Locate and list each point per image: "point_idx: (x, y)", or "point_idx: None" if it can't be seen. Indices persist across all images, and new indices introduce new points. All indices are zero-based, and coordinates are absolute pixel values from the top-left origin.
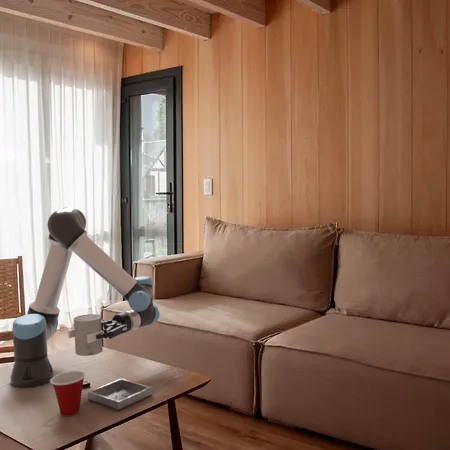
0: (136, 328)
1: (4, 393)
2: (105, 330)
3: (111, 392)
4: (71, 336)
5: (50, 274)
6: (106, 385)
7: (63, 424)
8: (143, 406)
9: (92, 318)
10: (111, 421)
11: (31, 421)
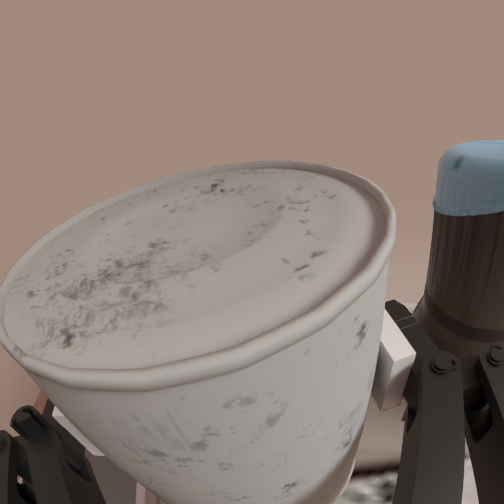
0: None
1: (386, 301)
2: (23, 416)
3: (132, 499)
4: None
5: None
6: (137, 485)
7: None
8: (17, 475)
9: (108, 257)
10: (43, 394)
11: None
